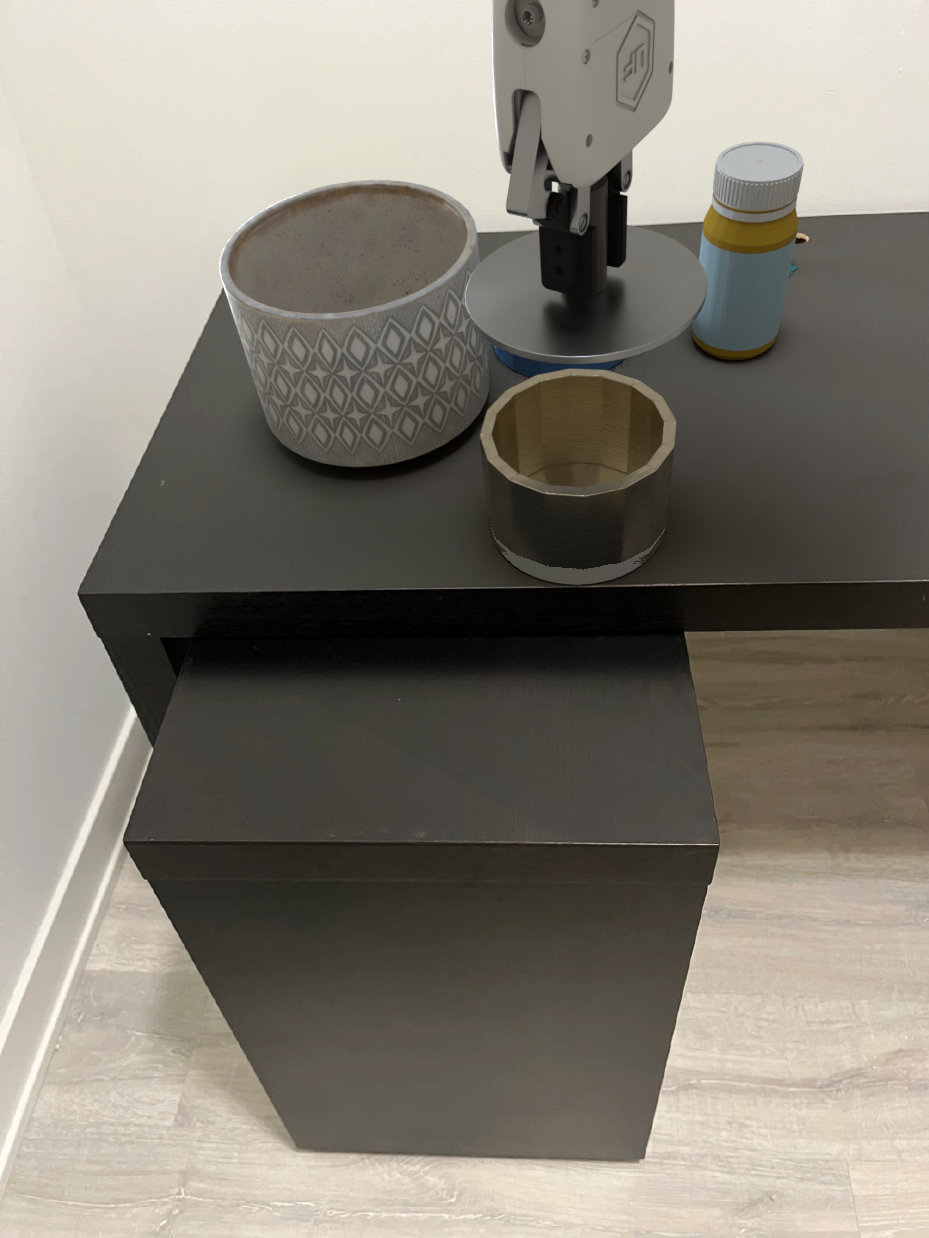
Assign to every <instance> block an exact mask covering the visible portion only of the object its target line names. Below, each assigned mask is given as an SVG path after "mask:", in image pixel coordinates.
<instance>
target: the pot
mask: <svg viewBox="0 0 929 1238" xmlns="http://www.w3.org/2000/svg"><path fill="white" fill-rule="evenodd" d="M677 424H678V423H677V420H676V418H675V416H674V414H673V412H672V410H671V408H670V406H669V405H668V403H667V401H666V400H665V397H663V396H662V395H661V394H659V393H658V392H656V391H655V390H654V389H652V388H651V387H649V386H648V385H647V384H646V383H644V382H643V381H641V380H639V379H637V378H634V377H631V376H627V375H624V374H620V373H617V372H614V371H610V370H594V369H565V370H560V371H555V372H550V373H545V374H540V375H536V376H534V377H530V378H527V379H525V380H524V381H522V382H519V383H518V384H516V385H514V386H511V387H510V388H508V389H506V390H504V392H503V393H502V394H500V396H499V397H498V398H497V399H496V400H495V401H494V403H492V404H491V405H490V406H489V407H488V408H487V410H486V412H485V415H484V419H483V422H482V426H481V430H480V433H479V444H480V453H481V463H482V471H483V473H482V474H483V483H484V493H485V502H486V503H485V505H486V512H487V521H488V526H489V528H490V533H491V538H492V540H493V542H494V545H495V547H496V548H497V550H498V551H499V553H500V554H501V553H503V552H506V551H505V550H504V549H503V548H502V547H501V546H500V545H499V544H498V543H497V542H496V540H495V538H494V536H495V537H496V539H497V540H499V541H500V542H501V543H502V544H503V545H504V546H506V547H507V548H508V549H509V550H510V551H511V552H513V553H515V554H516V555H517V556H518V555H519V556H520V557H521V556H522V557H523V558H527V559H530V560H532V561H535V562H537V563H540V564H543V565H545V566H547V565H548V566H549V567H562V568H573V569H574V568H576V569H583V570H584V569H588V568H594V567H600V566H603V565H608V564H617V563H621V562H624V561H626V560H627V559H630V558H632V557H634V556H635V555H637V554H639V553H641V552H644V551H645V550H647V549H649V548H650V547H651V546H652V545H653V544H654V542H655V541H656V540H657V539H658V537H659V536H660V535H661V533H662V532H663V530H664V529H665V528H666V529H665V531H664V533H663V534H662V535H661V537H660V538H659V540H658V541H657V542H656V544H655V545H654V547H653V548H652V550H651V551H650V552H649V553H648V554H646V555H644V556H643V557H641V558H639V559H641V561H638V560H637V561H634V562H642V563H638V564H643V565H644V564H645V563H646V562H648V561H649V560H650V559H651V558H652V557H653V556H654V554H655V553H656V552H657V551H658V549H659V547H660V545H661V544H662V542H663V540H664V536H665V535H666V533H667V532H666V531H667V524H668V523H667V522H668V511H669V503H670V493H671V484H672V474H673V465H674V455H675V446H676V445H675V444H676V433H677ZM488 518H489V519H488ZM489 521H490V522H489ZM490 524H491V525H490ZM491 527H492V529H491ZM492 530H493V532H492ZM493 533H494V535H493ZM504 554H507V553H504ZM648 558H649V559H648ZM644 559H645V560H644ZM644 561H645V562H644ZM633 564H636V563H633Z"/></svg>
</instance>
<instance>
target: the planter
mask: <svg viewBox="0 0 929 1238" xmlns="http://www.w3.org/2000/svg"><path fill="white" fill-rule="evenodd" d="M478 239H479V238H478V230H477V226H476V222H475V219H474V217H473V216H472V214H471V213H470V211H469V209H468V208H466V206H464V204H463V203H461V202H460V201H459V200H457V199H456V198H454V197H453V196H451V195H449V194H448V193H446V192H444V191H441V190H439V189H436V188H434V187H430V186H427V185H424V184H419V183H415V182H409V181H400V180H392V179H391V180H388V179H368V180H356V181H355V180H352V181H346V182H340V183H333V184H328V185H324V186H320V187H315V188H312V189H308V190H305V191H302V192H299V193H295V194H294V195H291V196H289V197H287V198H284V199H281V200H279V201H277V202H275V203H273V204H271V205H269V206H267V207H265V208H264V209H262V210H261V211H259V212H257V213H256V214H254V215H253V216H251V217H250V218H249V219H247V220H246V221H245V222H244V223H243V224H242V225H240V226H239V227H238V228H237V230H235V232H233V234H232V235H231V236H230V238H229V239H228V240H227V242H226V244H225V245H224V246H223V249H222V251H221V255H220V257H219V267H218V270H219V275H220V279H221V283H222V286H223V289H224V292H225V296H226V298H227V301H228V305H229V307H230V311H231V314H232V317H233V320H234V324H235V327H236V329H237V332H238V336H239V338H240V342H241V345H242V348H243V349H242V350H243V352H244V354H245V358H246V361H247V365H248V367H249V371H250V373H251V376H252V380H253V383H254V386H255V389H256V392H257V395H258V398H259V401H260V405H261V407H262V410H263V414H264V417H265V420H266V423H267V425H268V426H269V428H270V431H271V433H272V434H273V435H274V436H275V437H276V439H277V440H278V441H279V442H280V443H281V444H282V445H283V446H284V447H286V448H287V449H289V450H290V451H292V452H293V453H295V454H297V455H299V456H301V457H303V458H305V459H308V460H311V461H315V462H318V463H320V464H327V465H332V466H337V467H350V468H351V467H352V468H363V467H364V468H365V467H366V468H367V467H378V466H385V465H392V464H397V463H401V462H404V461H408V460H412V459H415V458H418V457H420V456H423V455H426V454H428V453H430V452H432V451H434V450H436V449H438V448H440V447H442V446H444V445H446V444H447V443H449V442H450V441H452V440H454V439H455V438H456V437H457V436H460V434H461V433H462V432H464V431H465V430H466V429H467V428H468V427H469V426H470V425H472V423H473V422H474V421H475V419H476V418H477V417H478V416H479V415H480V413H481V412H482V410H483V407H484V406H485V404H486V402H487V399H488V396H489V392H490V383H491V381H490V380H491V379H490V366H489V365H490V364H489V357H488V356H489V355H488V354H489V353H488V341H487V340H486V339H485V338H484V337H483V336H482V335H480V334H479V333H478V331H477V330H476V329H475V328H474V326H473V325H472V323H471V321H470V319H469V317H468V314H467V310H466V305H465V291H466V287H467V283H468V281H469V279H470V277H471V275H472V273H473V272H474V270H475V269H476V268H477V266H478V265H479V264H480V263H481V262H480V251H479V240H478Z"/></svg>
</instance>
